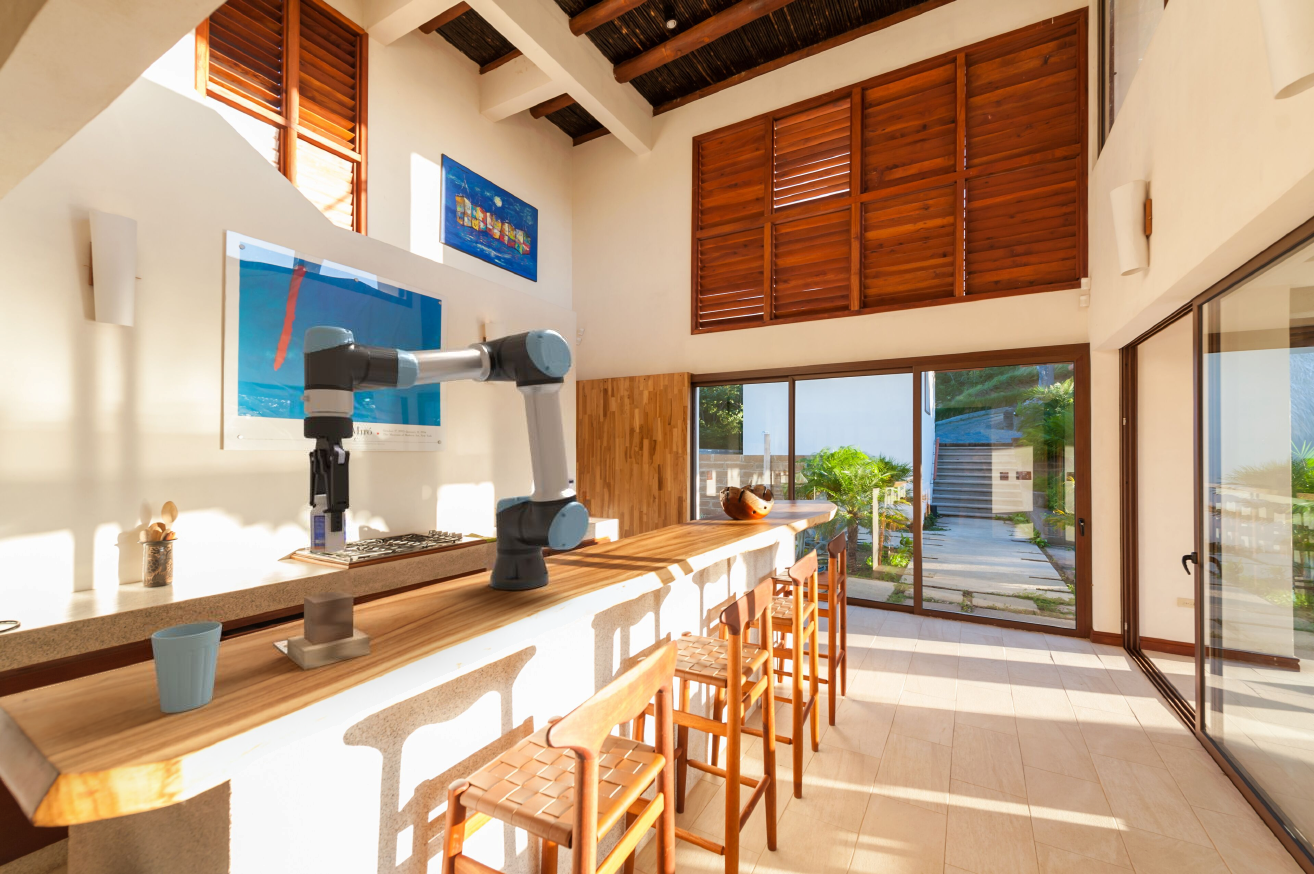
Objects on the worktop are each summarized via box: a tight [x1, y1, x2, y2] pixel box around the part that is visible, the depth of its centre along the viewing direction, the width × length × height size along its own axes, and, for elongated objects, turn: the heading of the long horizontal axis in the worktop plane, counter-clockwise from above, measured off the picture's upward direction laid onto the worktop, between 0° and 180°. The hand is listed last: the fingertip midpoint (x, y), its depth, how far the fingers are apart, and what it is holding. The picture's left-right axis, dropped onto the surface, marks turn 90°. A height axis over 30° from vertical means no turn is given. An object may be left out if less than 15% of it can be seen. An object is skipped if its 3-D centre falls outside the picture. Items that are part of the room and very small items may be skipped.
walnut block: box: [303, 590, 354, 645], centre depth 100 cm, size 6×6×7 cm
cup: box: [150, 621, 223, 714], centre depth 80 cm, size 8×8×10 cm
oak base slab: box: [286, 626, 371, 671], centre depth 99 cm, size 10×10×3 cm
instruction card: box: [273, 640, 287, 655], centre depth 106 cm, size 10×8×1 cm
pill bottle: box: [309, 494, 347, 554], centre depth 100 cm, size 5×5×10 cm
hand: (328, 548), depth 100 cm, fingers closed on pill bottle, 5 cm apart
